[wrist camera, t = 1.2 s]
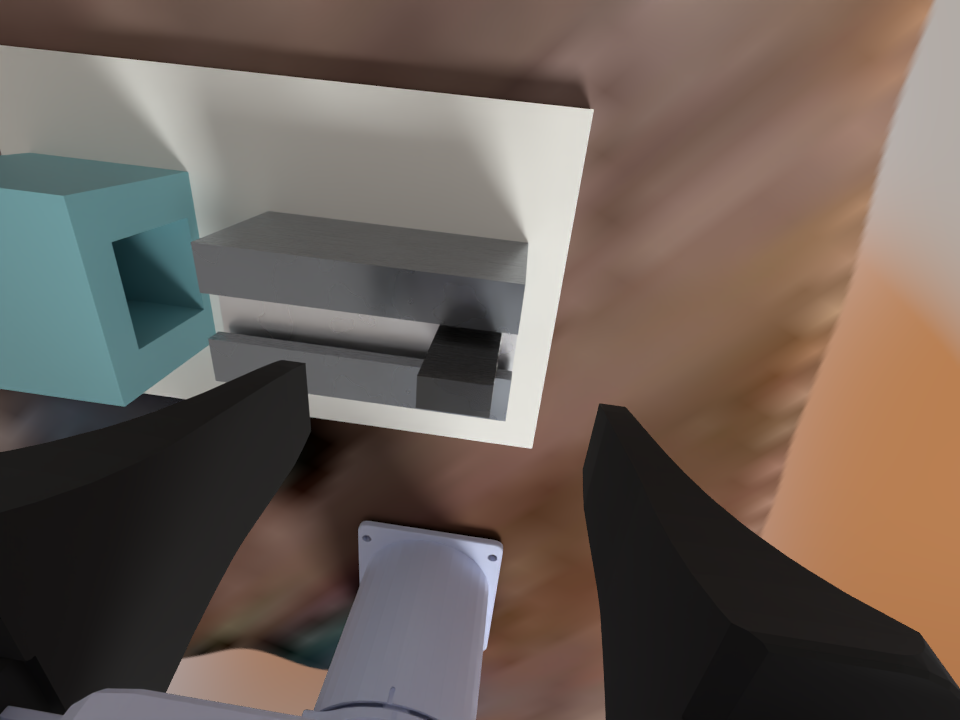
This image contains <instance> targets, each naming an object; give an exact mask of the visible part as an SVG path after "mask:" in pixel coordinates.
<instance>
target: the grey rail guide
mask: <svg viewBox="0 0 960 720" xmlns="http://www.w3.org/2000/svg"><path fill="white" fill-rule="evenodd" d="M191 247H192V253H193V258H194V264H195V269H196V275H197V280H198V286H199V291H200V293H205V294H212V295H220V296H228V297H235V298H243V299H250V300H258V301H265V302H273V303H281V304H288V305H296V306H303V307H311V308H319V309H326V310H334V311H341V312H349V313H357V314H364V315H372V316H379V317H387V318H394V319H402V320H410V321H417V322H425V323H432V324H440V325H448V326H455V327H463V328H470V329H478V330H486V331H493V332H501V333H508V334H516V335H518V332H519V325H520V318H521V311H522V305H523V298H524V291H525V284H526V270H527V256H528V243H526V242H517V241H509V240H501V239H493V238H485V237H477V236H469V235H460V234H452V233H444V232H436V231H428V230H420V229H411V228H403V227H395V226H387V225H379V224H371V223H362V222H354V221H346V220H338V219H330V218H322V217H314V216H305V215H297V214H289V213H281V212H273V211H267V212H265V213H262V214H260V215H257V216H255V217H252V218H250V219H247V220H245V221H242V222H240V223H237V224H235V225H232V226H230V227H227V228H225V229H222V230H220V231H217V232H215V233H212V234H210V235H207V236H205V237H202V238H200V239H197V240H195V241H192V242H191ZM208 341H209V346H210V352H211V357H212V363H213V368H214V374H215V380H216V381H220V382H229V381H231V380H233V379H236V378H238V377H240V376H242V375H245V374H247V373H249V372H251V371H254V370H256V369H258V368H261V367H263V366H266V365H268V364H271V363H273V362H276V361H279V360H287V361H294V362H301V363H306V375H307V387H308V394H313V395H320V396H327V397H334V398H341V399H348V400H356V401H363V402H370V403H377V404H384V405H391V406H398V407H405V408H412V409H420V410H427V411H434V412H441V413H448V414H455V415H462V416H469V417H477V418H484V419H491V420H498V421H506V414H507V407H508V400H509V394H510V387H511V380H512V371H507V370H500V369H497V372H496V379H495V385H494V392H493V398H492V404H491V411H490V417H489V418H485V417H478V416H470V415H463V414H456V413H449V412H442V411H435V410H428V409H421V408H416V387H417V374H418V372H419V370H420V368H421V366H422V363H423V361H424V359H419V358H411V357H404V356H396V355H389V354H382V353H374V352H367V351H359V350H352V349H345V348H337V347H330V346H323V345H315V344H308V343H300V342H293V341H286V340H278V339H271V338H264V337H256V336H249V335H241V334H234V333H227V332H217V333H216V334H214V335H213V336H212V337H210V338H209V339H208Z"/></svg>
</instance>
